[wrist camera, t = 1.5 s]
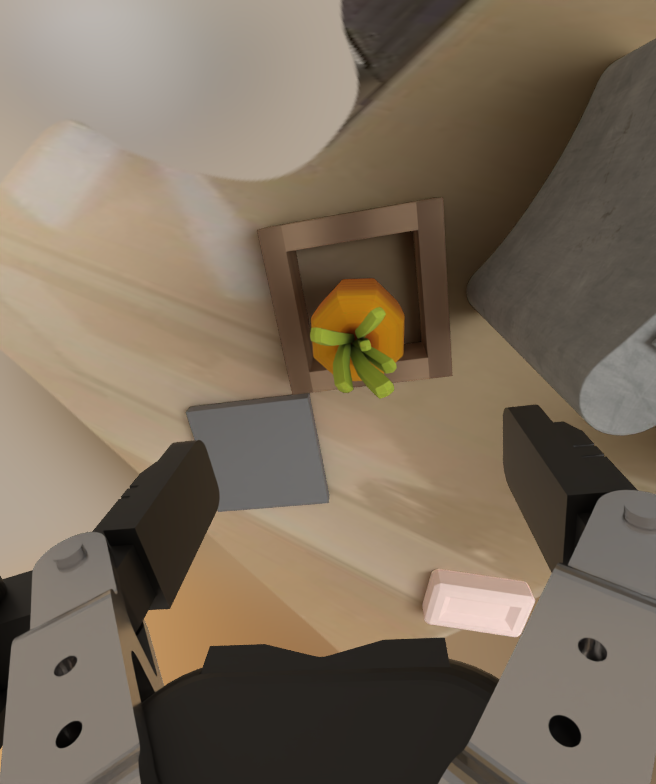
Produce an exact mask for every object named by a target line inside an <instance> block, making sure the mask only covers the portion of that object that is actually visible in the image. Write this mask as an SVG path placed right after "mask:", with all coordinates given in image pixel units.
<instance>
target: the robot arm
mask: <svg viewBox="0 0 656 784" xmlns="http://www.w3.org/2000/svg"><path fill="white" fill-rule="evenodd" d="M503 465H504V472H505V477H506V480H507V483H508V486H509V488H510V490H511V492H512V494H513V496H514V498H515V500H516V502H517V504H518V506H519V508H520V510H521V512H522V514H523V516H524V518H525V520H526V522H527V524H528V526H529V528H530V530H531V532H532V534H533V536H534V538H535V540H536V542H537V544H538V546H539V548H540V550H541V552H542V554H543V556H544V558H545V560H546V562H547V564H548V566H549V568H550V570H551V572H552V574H551V576H550V578H549V580H548V582H547V584H546V586H545V588H544V590H543V592H542V594H541V596H540V599H539V600H538V603H537V605H536V607H535V609H534V611H533V613H532V615H531V617H530V619H529V621H528V623H527V625H526V627H525V629H524V631H523V633H522V636H521V637H520V639H519V641H518V643H517V645H516V647H515V649H514V651H513V654H512V655H511V658H510V660H509V662H508V664H507V666H506V668H505V670H504V672H503V674H502V676H501V678H500V679H498V678H496V677H495V676H493V675H492V674H490V673H487V672H485V671H483V670H481V669H479V668H477V667H474V666H472V665H469V664H466V663H463V662H460V661H455V660H452V659H448V654H447V648H446V642H445V638H421V639H394V640H381V641H378V642H375V643H371V644H368V645H364V646H361V647H357V648H354V649H350V650H347V651H343V652H340V653H337V654H333V655H330V656H326V657H316V656H311V655H307V654H303V653H299V652H294V651H291V650H286V649H282V648H278V647H274V646H270V645H266V644H257V645H230V646H210V648H209V651H208V654H207V657H206V659H205V662H204V665H203V668H200V669H197V670H195V671H192V672H190V673H188V674H185V675H183V676H181V677H179V678H177V679H175V680H174V681H172V682H170V683H168V684H167V685H166V686H164V684H163V681H162V677H161V674H160V670H159V667H158V663H157V659H156V656H155V652H154V648H153V645H152V641H151V638H150V634H149V630H148V627H147V625H146V623H145V621H144V617H145V616H146V614H147V612H148V610H156V609H170V607H171V605H172V603H173V601H174V599H175V597H176V595H177V593H178V591H179V589H180V587H181V584H182V582H183V580H184V578H185V576H186V574H187V572H188V570H189V568H190V566H191V564H192V561H193V559H194V557H195V555H196V553H197V551H198V549H199V547H200V545H201V543H202V541H203V539H204V536H205V534H206V532H207V530H208V528H209V526H210V524H211V522H212V520H213V518H214V516H215V513H216V511H217V509H218V506H219V500H220V493H219V487H218V483H217V480H216V477H215V474H214V471H213V468H212V464H211V461H210V458H209V455H208V452H207V449H206V446H205V444H204V443H203V442H202V441H201V440H194V441H185V442H176V443H172V444H171V445H170V447H169V448H168V449H167V450H166V452H165V453H164V454H163V455H162V457H161V458H160V459H159V460H158V462H155V463H154V464H153V465H151V466H150V467H148V468H147V469H146V470H144V471H143V472H142V473H140V474H139V476H138V477H137V478H136V479H135V480H134V482H133V483H132V484H131V485H130V489H127V490H126V491H125V493H124V494H123V495H122V496H121V499H119V500H118V501H117V502H116V503H115V505H114V506H113V507H112V508H111V510H110V511H109V512H108V513H107V514H106V516H105V517H104V518H103V519H102V520H101V522H100V523H99V524H98V525H97V527H96V528H95V529H94V530H93V531H92V532H86V533H82V534H78V535H75V536H72V537H70V538H68V539H66V540H64V541H62V542H60V543H58V544H57V545H55V546H54V547H52V548H51V549H50V550H48V551H47V552H46V553H45V554H44V555H43V556H42V557H41V558H40V559H39V560H38V561H37V563H36V564H35V566H34V568H33V570H32V571H29V572H26V573H22V574H19V575H16V576H12V577H9V578H6V579H2V578H1V576H0V749H1V747H2V746H3V749H2V760H1V772H0V784H650V781H651V777H652V771H653V765H654V760H655V754H656V494H652V493H648V492H643V491H638V490H637V489H636V488H635V487H634V486H633V485H632V484H631V483H630V482H629V481H628V479H627V478H626V477H625V476H624V475H623V474H622V473H621V472H620V471H619V470H618V469H617V468H616V467H615V466H614V464H613V463H612V462H611V461H610V460H609V459H608V458H607V457H604V454H603V453H602V452H601V451H600V449H599V448H598V447H597V446H594V443H593V442H592V441H591V440H590V439H589V438H588V437H587V436H586V434H585V433H584V432H583V431H581V430H579V429H577V428H575V427H573V426H571V425H569V424H567V423H565V422H554V423H553V422H552V421H551V420H550V418H549V417H548V416H547V415H546V414H545V412H544V411H543V410H542V409H541V408H540V407H539V406H538V405H527V406H518V407H509V408H505V409H504V413H503Z"/></svg>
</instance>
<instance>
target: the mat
mask: <svg viewBox="0 0 656 784" xmlns="http://www.w3.org/2000/svg"><path fill="white" fill-rule="evenodd" d="M186 415H187V418H188V421H189V424H190V427H191V430H192V433H193V436H194V439H195V440H201V441H202V442H203V443H204V444H205V446H206V449H207V452H208V455H209V458H210V461H211V464H212V468H213V471H214V474H215V477H216V480H217V483H218V487H219V493H220V500H219V506H218V512H222V511H235V510H247V509H260V508H272V507H285V506H297V505H310V504H322V503H329V491H328V486H327V481H326V475H325V470H324V465H323V460H322V455H321V450H320V445H319V440H318V435H317V430H316V425H315V420H314V415H313V410H312V405H311V399H310V394H309V393H304V394H295V395H287V396H278V397H269V398H261V399H252V400H244V401H235V402H227V403H218V404H210V405H201V406H193V407H190V408H189V409H188V410H187V411H186Z"/></svg>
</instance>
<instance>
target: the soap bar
mask: <svg viewBox="0 0 656 784" xmlns="http://www.w3.org/2000/svg"><path fill="white" fill-rule="evenodd" d="M534 603H535V599H534V597H533V594H532V592H531V590H530V587H529V585H528V584H527V583H526V582H525V581H519V580H512V579H505V578H498V577H492V576H485V575H478V574H471V573H464V572H458V571H451V570H444V569H436V570H434V571H432V573H431V576H430V580H429V583H428V587H427V590H426V594H425V597H424V601H423V604H422V606H423V613H424V620H425V621H426V622H427V623H428V624H432V625H439V626H445V627H452V628H458V629H465V630H471V631H478V632H484V633H491V634H497V635H504V636H511V637H517V636H519V635H521V633H522V630H523V628H524V626H525V623H526V621H527V619H528V617H529V614H530V612H531V610H532V607H533V605H534Z"/></svg>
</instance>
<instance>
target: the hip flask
mask: <svg viewBox="0 0 656 784" xmlns="http://www.w3.org/2000/svg"><path fill="white" fill-rule="evenodd" d="M467 298H468V301H469V303H470V304H471V305H472V306H473V307H474V308H475V309H476V310H477V311H478V312H479V313H480V315H481V316H482V317H483V318H484V319H485V320H486V321H487V322H488V323H489V324H490V325H491V326H492V327H493V328H494V329H495V330H496V331H497V332H498V333H499V334H500V335H501V336H502V337H503V338H504V339H505V340H506V341H507V342H508V343H509V344H510V345H511V346H512V347H513V348H514V349H515V350H516V351H517V352H518V353H519V354H520V355H521V356H522V357H523V358H524V359H525V360H526V361H527V362H528V363H529V364H530V365H531V366H532V367H533V368H534V369H535V370H536V371H537V372H538V373H539V374H540V375H541V376H542V377H543V378H544V379H545V380H546V381H547V382H548V383H549V384H550V386H551V387H552V388H553V389H554V390H555V391H556V392H557V393H558V394H559V395H560V396H561V397H562V398H563V399H564V400H565V401H566V402H567V403H568V404H569V405H570V406H571V407H572V408H573V409H574V410H575V411H576V412H577V413H578V414H579V415H580V416H581V417H582V418H583V419H584V420H585V421H586V422H587V423H588V424H589V425H590V426H592V427H593V428H594V429H596V430H598V431H600V432H603V433H606V434H611V435H630V434H635V433H639V432H643V431H645V430H647V429H650V428H652V427H654V426H655V425H656V39H654V40H652V41H650V42H649V43H647V44H645V45H643V46H641V47H640V48H638V49H636V50H634V51H632V52H631V53H629V54H627V55H625V56H623V57H622V58H620V59H618V60H616V61H615V62H613V63H612V64H611V65H610V66H609V67H608V68H607V69H606V70H605V71H604V72H603V74H602V75H601V77H600V79H599V81H598V83H597V85H596V87H595V89H594V92H593V94H592V96H591V99H590V101H589V103H588V105H587V107H586V109H585V111H584V113H583V116H582V118H581V120H580V122H579V124H578V126H577V127H576V129H575V131H574V133H573V135H572V137H571V139H570V141H569V143H568V144H567V146H566V148H565V150H564V151H563V153H562V155H561V157H560V159H559V160H558V162H557V164H556V165H555V167H554V168H553V170H552V172H551V173H550V175H549V177H548V178H547V180H546V181H545V183H544V184H543V186H542V187H541V189H540V190H539V192H538V194H537V195H536V197H535V198H534V200H533V201H532V203H531V204H530V206H529V207H528V209H527V210H526V211H525V213H524V214H523V216H522V217H521V218H520V220H519V221H518V223H517V224H516V225H515V227H514V228H513V229H512V230H511V232H510V233H509V234H508V236H507V237H506V238H505V239H504V241H503V242H502V243H501V244H500V246H499V247H498V248H497V249H496V251H495V252H494V253H493V254H492V255H491V256H490V257H489V258H488V260H487V261H486V262H485V263H484V264H483V265H482V266H481V267H480V268H479V269H478V270H477V271H476V272H475V273H474V275H473V276H472V277H471V279H470V280H469V282H468V285H467Z"/></svg>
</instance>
